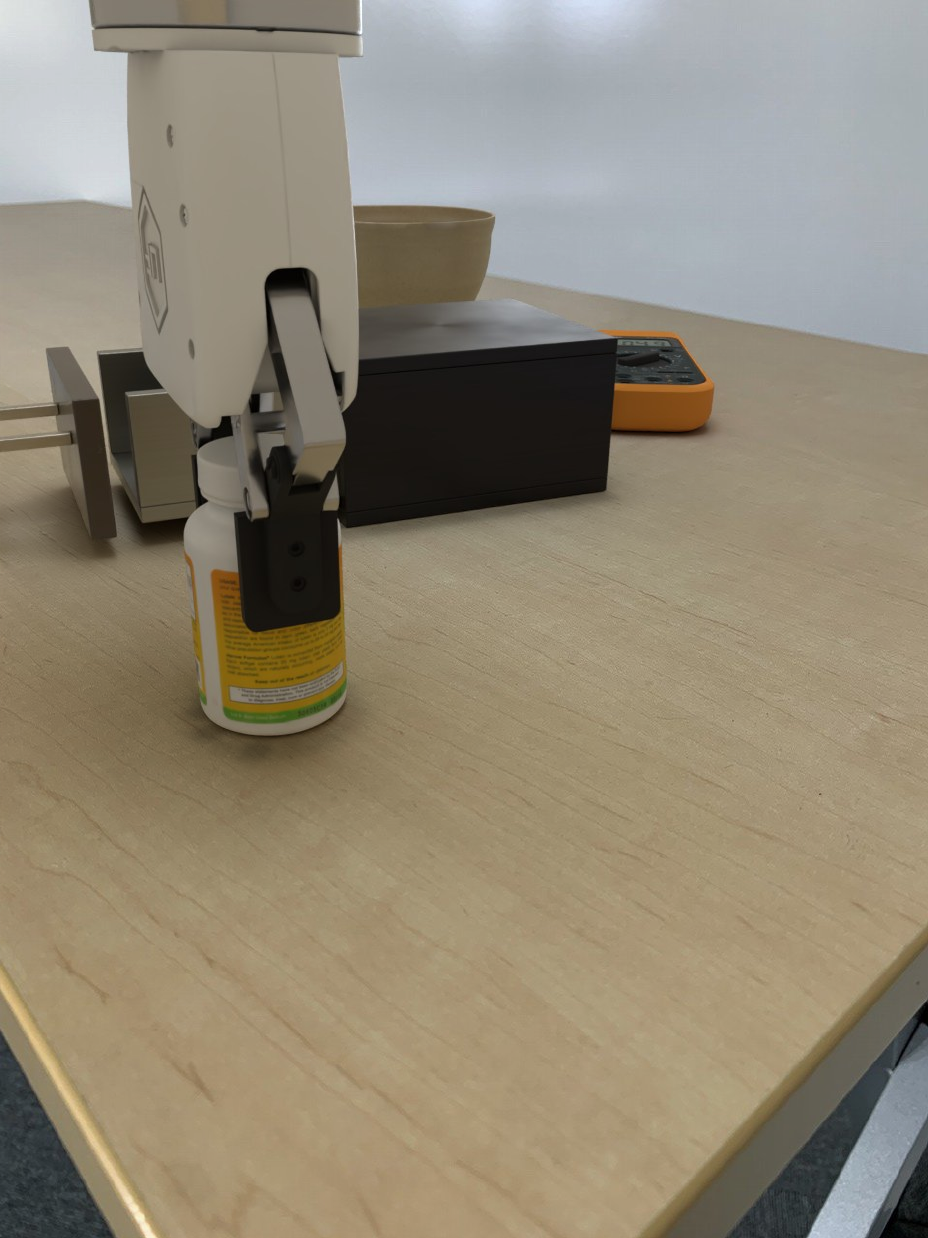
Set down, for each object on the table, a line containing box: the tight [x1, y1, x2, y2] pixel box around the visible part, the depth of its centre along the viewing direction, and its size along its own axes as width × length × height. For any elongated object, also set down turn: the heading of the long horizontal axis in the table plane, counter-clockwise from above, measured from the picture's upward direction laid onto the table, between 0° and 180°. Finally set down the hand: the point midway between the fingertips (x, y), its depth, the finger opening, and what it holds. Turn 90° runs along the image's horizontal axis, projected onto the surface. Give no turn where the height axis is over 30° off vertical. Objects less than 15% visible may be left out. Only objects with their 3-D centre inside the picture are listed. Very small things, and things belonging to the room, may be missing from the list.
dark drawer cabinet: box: [337, 297, 618, 528], centre depth 63 cm, size 16×13×9 cm
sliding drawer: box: [0, 346, 341, 542], centre depth 57 cm, size 20×11×7 cm, turn 114°
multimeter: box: [596, 329, 715, 433], centre depth 80 cm, size 9×18×3 cm, turn 179°
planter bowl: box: [353, 204, 496, 308], centre depth 94 cm, size 16×16×11 cm
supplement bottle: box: [183, 434, 348, 736], centre depth 39 cm, size 5×5×10 cm
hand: (266, 581), depth 39 cm, fingers closed on supplement bottle, 5 cm apart
